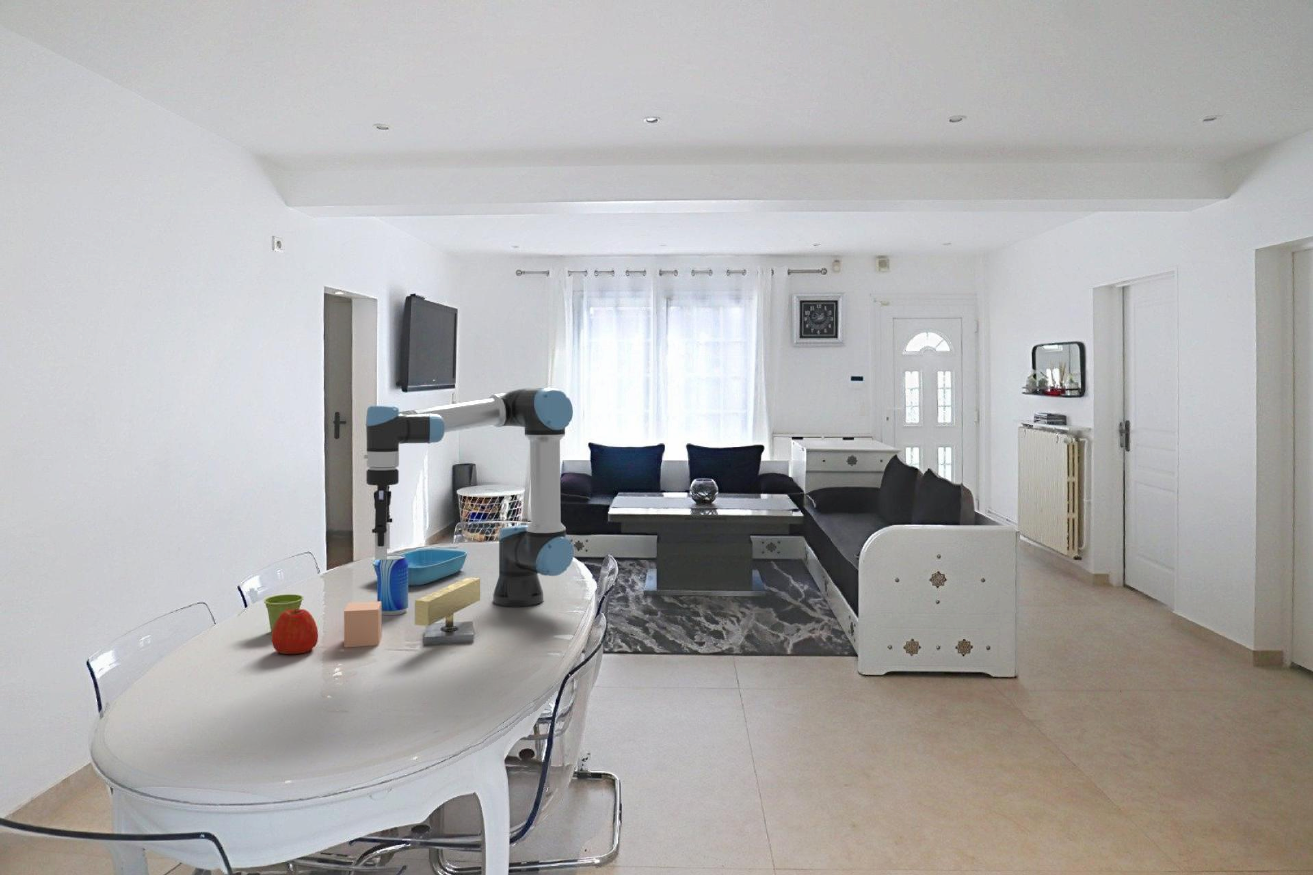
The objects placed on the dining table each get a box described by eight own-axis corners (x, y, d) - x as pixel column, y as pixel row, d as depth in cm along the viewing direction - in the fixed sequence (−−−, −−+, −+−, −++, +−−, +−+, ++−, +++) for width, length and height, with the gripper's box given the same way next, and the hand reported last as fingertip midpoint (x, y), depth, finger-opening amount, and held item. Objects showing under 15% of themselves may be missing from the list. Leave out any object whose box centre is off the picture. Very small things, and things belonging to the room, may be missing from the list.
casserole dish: (423, 563, 294) (423, 544, 294) (477, 568, 288) (477, 548, 287) (359, 586, 259) (359, 564, 258) (419, 591, 252) (419, 569, 252)
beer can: (398, 616, 223) (398, 560, 222) (371, 614, 224) (371, 558, 224) (413, 609, 231) (413, 554, 230) (387, 607, 233) (387, 553, 232)
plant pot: (311, 628, 211) (311, 596, 210) (284, 638, 202) (284, 604, 201) (283, 624, 214) (283, 592, 213) (255, 634, 205) (255, 601, 204)
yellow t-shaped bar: (468, 612, 218) (468, 577, 218) (480, 614, 217) (480, 578, 217) (414, 640, 193) (414, 600, 193) (428, 641, 192) (428, 601, 192)
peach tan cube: (381, 635, 205) (381, 601, 205) (378, 645, 197) (378, 609, 197) (348, 637, 203) (348, 602, 203) (344, 647, 195) (344, 611, 195)
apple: (272, 660, 185) (271, 616, 184) (271, 648, 194) (270, 605, 193) (319, 654, 190) (319, 611, 189) (316, 642, 199) (316, 601, 198)
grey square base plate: (472, 628, 213) (472, 620, 213) (473, 641, 201) (473, 633, 201) (426, 631, 210) (426, 622, 210) (424, 644, 198) (424, 636, 198)
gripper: (370, 464, 206) (370, 545, 207) (362, 473, 182) (362, 564, 183) (400, 464, 209) (400, 544, 210) (396, 473, 185) (396, 563, 186)
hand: (382, 554), depth 197 cm, fingers open, 13 cm apart
